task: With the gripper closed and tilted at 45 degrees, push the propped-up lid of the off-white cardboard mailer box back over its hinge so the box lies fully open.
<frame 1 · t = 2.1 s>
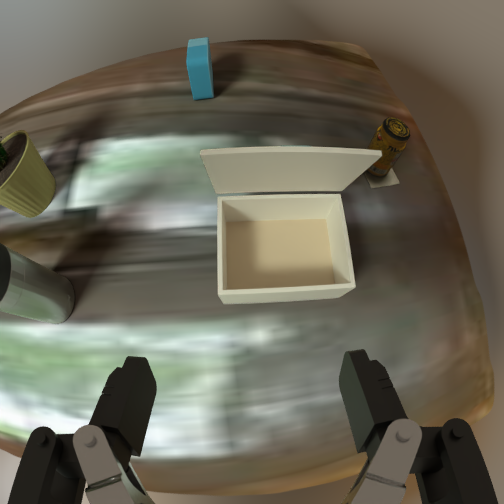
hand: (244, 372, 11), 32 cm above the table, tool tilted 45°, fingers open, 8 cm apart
data package: (204, 87, 60), on the table
condiment: (376, 169, 52), on the table
mailer box: (279, 258, 46), on the table
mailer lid: (287, 172, 33), point 15 cm above the table, hinge at 75.0°
potted cactus: (38, 195, 51), on the table
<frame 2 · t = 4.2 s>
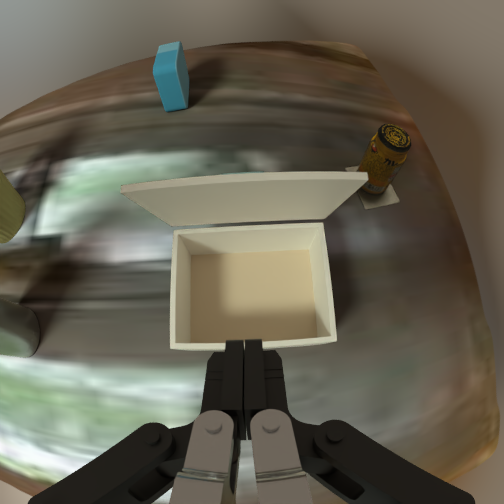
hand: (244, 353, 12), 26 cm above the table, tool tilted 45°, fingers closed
data package: (178, 97, 55), on the table
condiment: (372, 185, 45), on the table
mailer box: (252, 297, 39), on the table
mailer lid: (245, 203, 27), point 15 cm above the table, hinge at 75.0°
potted cactus: (10, 220, 45), on the table
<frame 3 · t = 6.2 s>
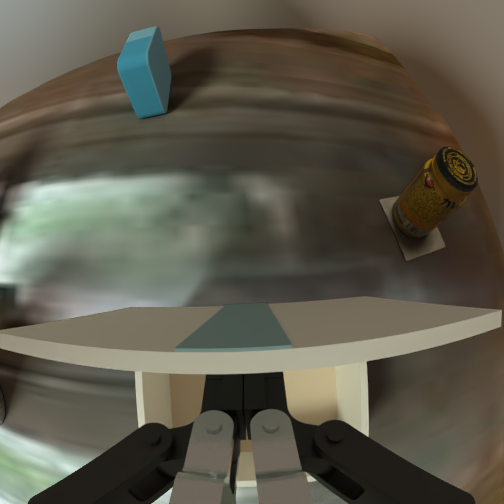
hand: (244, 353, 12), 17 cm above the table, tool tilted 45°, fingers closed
data package: (157, 98, 41), on the table
condiment: (412, 224, 33), on the table
mailer box: (253, 393, 26), on the table
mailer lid: (243, 321, 14), point 15 cm above the table, hinge at 76.0°, touching gripper
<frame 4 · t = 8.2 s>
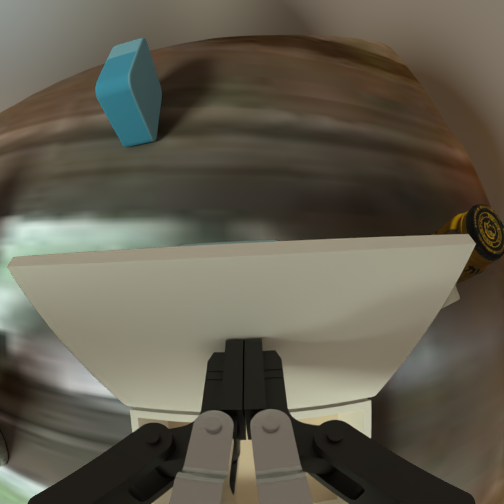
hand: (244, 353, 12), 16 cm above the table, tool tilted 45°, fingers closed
data package: (145, 120, 38), on the table
condiment: (428, 276, 29), on the table
mailer box: (254, 459, 23), on the table
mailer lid: (242, 362, 13), point 14 cm above the table, hinge at 120.3°, touching gripper
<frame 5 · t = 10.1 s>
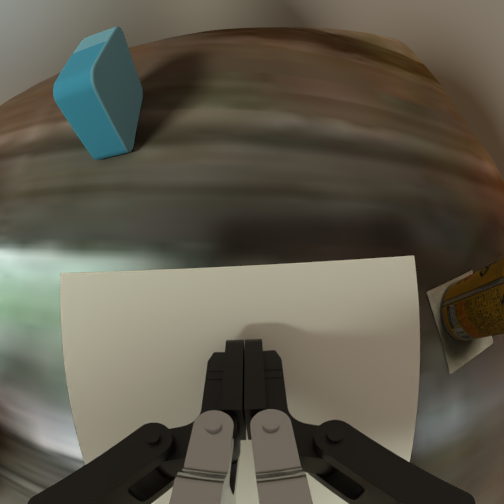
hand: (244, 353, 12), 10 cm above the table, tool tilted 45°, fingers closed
data package: (122, 126, 30), on the table
condiment: (461, 320, 22), on the table
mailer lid: (238, 417, 12), point 9 cm above the table, hinge at 170.6°, touching gripper
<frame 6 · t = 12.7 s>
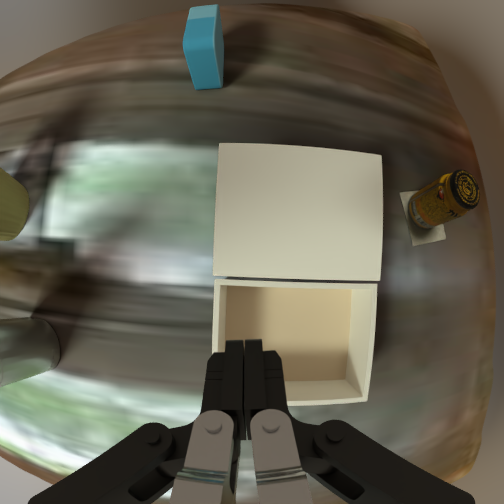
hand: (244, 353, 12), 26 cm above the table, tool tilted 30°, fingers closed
data package: (211, 69, 43), on the table
condiment: (422, 216, 39), on the table
mailer box: (288, 335, 37), on the table
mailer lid: (302, 211, 30), point 9 cm above the table, hinge at 170.7°
potted cactus: (13, 212, 41), on the table
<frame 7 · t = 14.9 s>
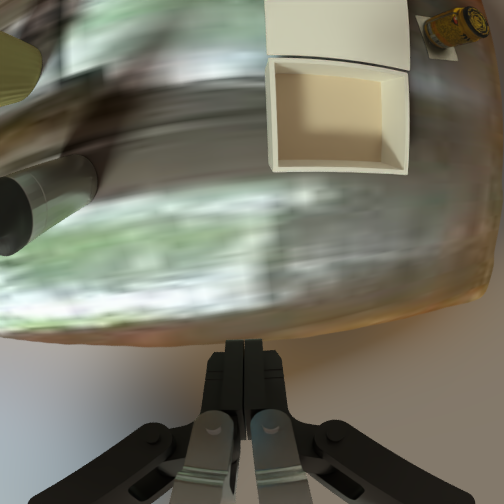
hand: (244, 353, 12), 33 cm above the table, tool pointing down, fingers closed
condiment: (436, 38, 30), on the table
mailer box: (328, 117, 37), on the table
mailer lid: (341, 8, 23), point 9 cm above the table, hinge at 170.7°
potted cactus: (22, 73, 31), on the table
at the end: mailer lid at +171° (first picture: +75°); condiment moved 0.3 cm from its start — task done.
